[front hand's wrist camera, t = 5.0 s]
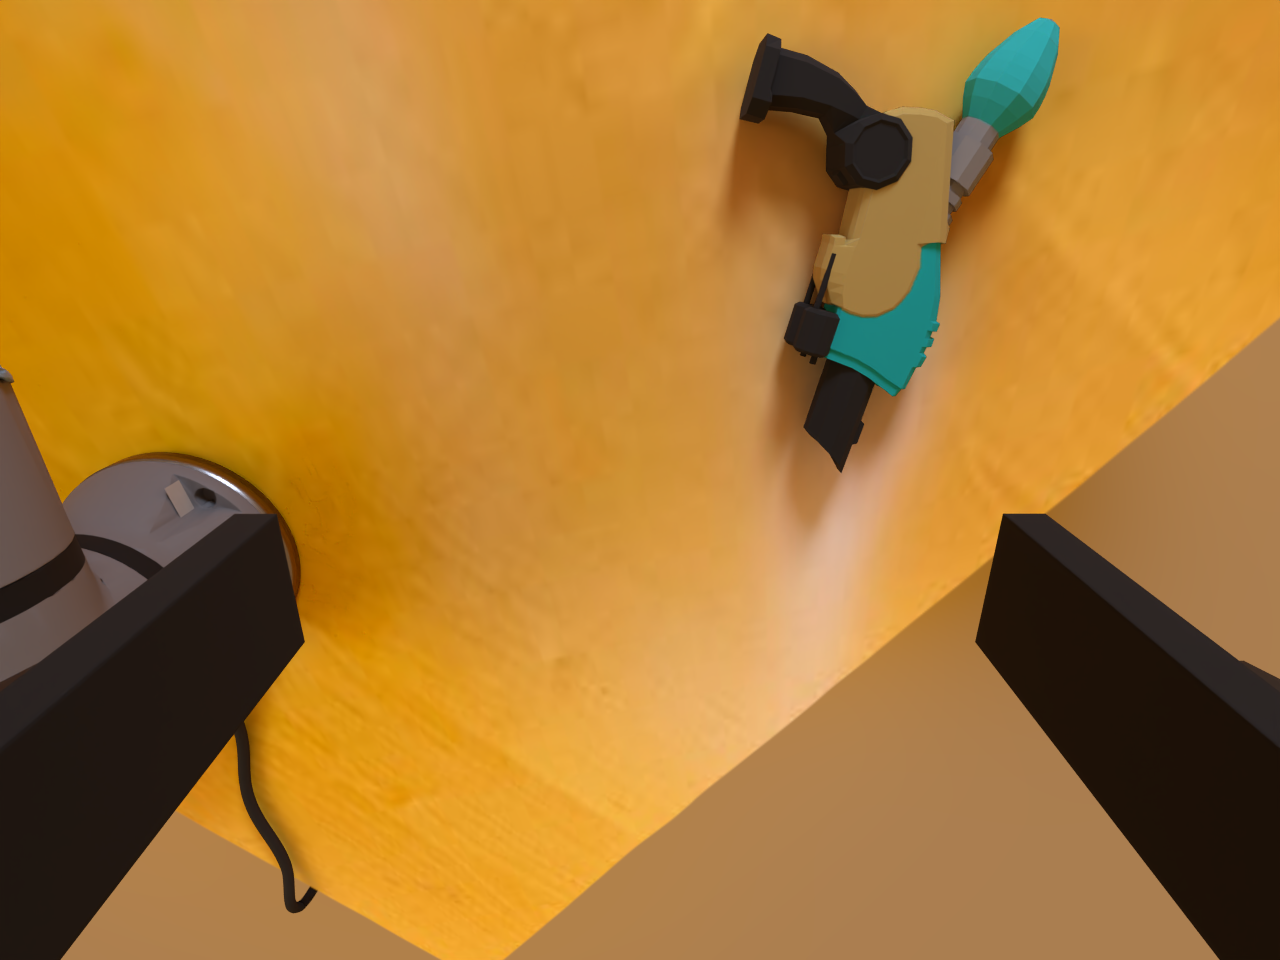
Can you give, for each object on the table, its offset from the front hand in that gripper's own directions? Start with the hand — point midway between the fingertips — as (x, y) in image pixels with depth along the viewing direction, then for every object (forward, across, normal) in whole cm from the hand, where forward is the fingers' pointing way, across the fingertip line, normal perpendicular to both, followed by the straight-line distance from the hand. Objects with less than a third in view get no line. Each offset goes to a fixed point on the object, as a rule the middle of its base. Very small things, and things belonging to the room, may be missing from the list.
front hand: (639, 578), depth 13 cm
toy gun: (+32, -12, -4) cm, 34 cm away
